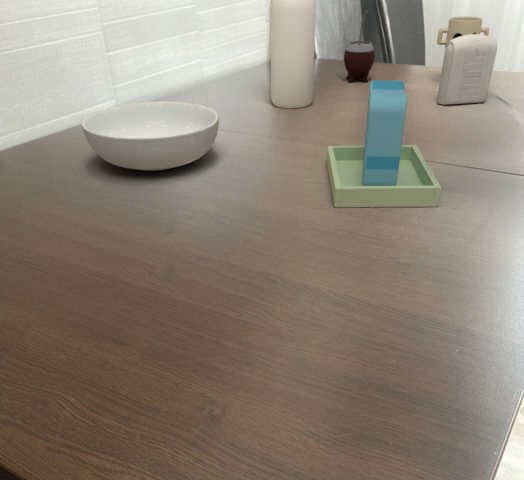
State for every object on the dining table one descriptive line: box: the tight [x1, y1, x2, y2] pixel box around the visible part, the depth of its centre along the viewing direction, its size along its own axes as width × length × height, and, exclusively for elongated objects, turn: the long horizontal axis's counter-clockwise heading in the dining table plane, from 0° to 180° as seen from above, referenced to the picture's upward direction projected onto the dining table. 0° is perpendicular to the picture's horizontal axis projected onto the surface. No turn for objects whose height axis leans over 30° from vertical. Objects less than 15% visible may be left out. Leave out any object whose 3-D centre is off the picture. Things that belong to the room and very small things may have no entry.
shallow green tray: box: [326, 144, 442, 208], centre depth 79 cm, size 14×18×3 cm
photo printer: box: [436, 33, 498, 106], centre depth 111 cm, size 10×4×12 cm, turn 102°
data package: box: [362, 80, 408, 186], centre depth 76 cm, size 12×4×12 cm, turn 171°
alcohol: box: [269, 0, 317, 109], centre depth 108 cm, size 9×9×30 cm
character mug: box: [436, 16, 490, 50], centre depth 125 cm, size 11×7×13 cm, turn 84°
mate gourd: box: [343, 10, 375, 83], centre depth 128 cm, size 8×8×15 cm
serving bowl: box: [80, 100, 220, 172], centre depth 87 cm, size 21×21×7 cm
